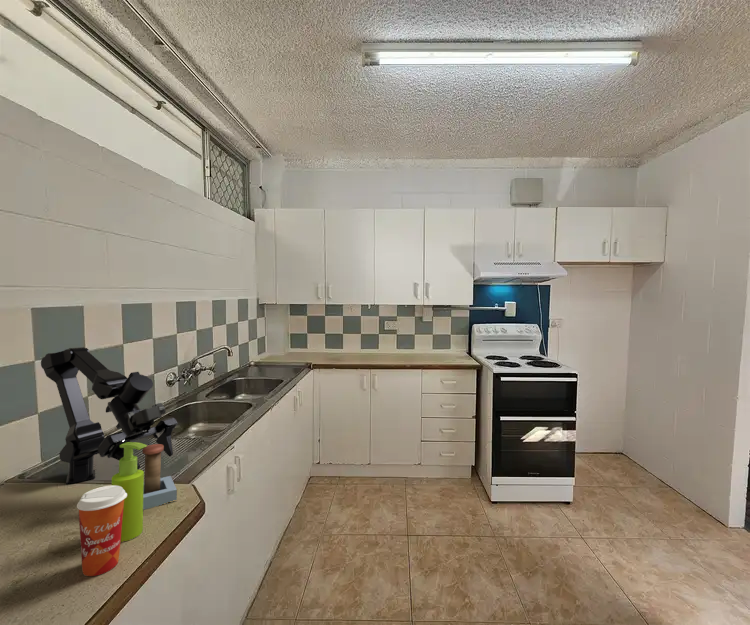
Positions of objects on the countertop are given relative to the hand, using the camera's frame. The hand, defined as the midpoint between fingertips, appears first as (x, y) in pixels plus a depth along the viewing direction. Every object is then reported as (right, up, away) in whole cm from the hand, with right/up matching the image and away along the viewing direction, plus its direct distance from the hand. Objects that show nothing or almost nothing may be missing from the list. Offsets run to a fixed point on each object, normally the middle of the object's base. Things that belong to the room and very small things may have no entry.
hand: (155, 461), depth 96 cm
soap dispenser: (+3, -10, -15) cm, 18 cm away
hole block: (-1, -10, 0) cm, 10 cm away
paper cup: (+5, -10, -25) cm, 28 cm away
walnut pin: (-1, -10, 0) cm, 10 cm away
